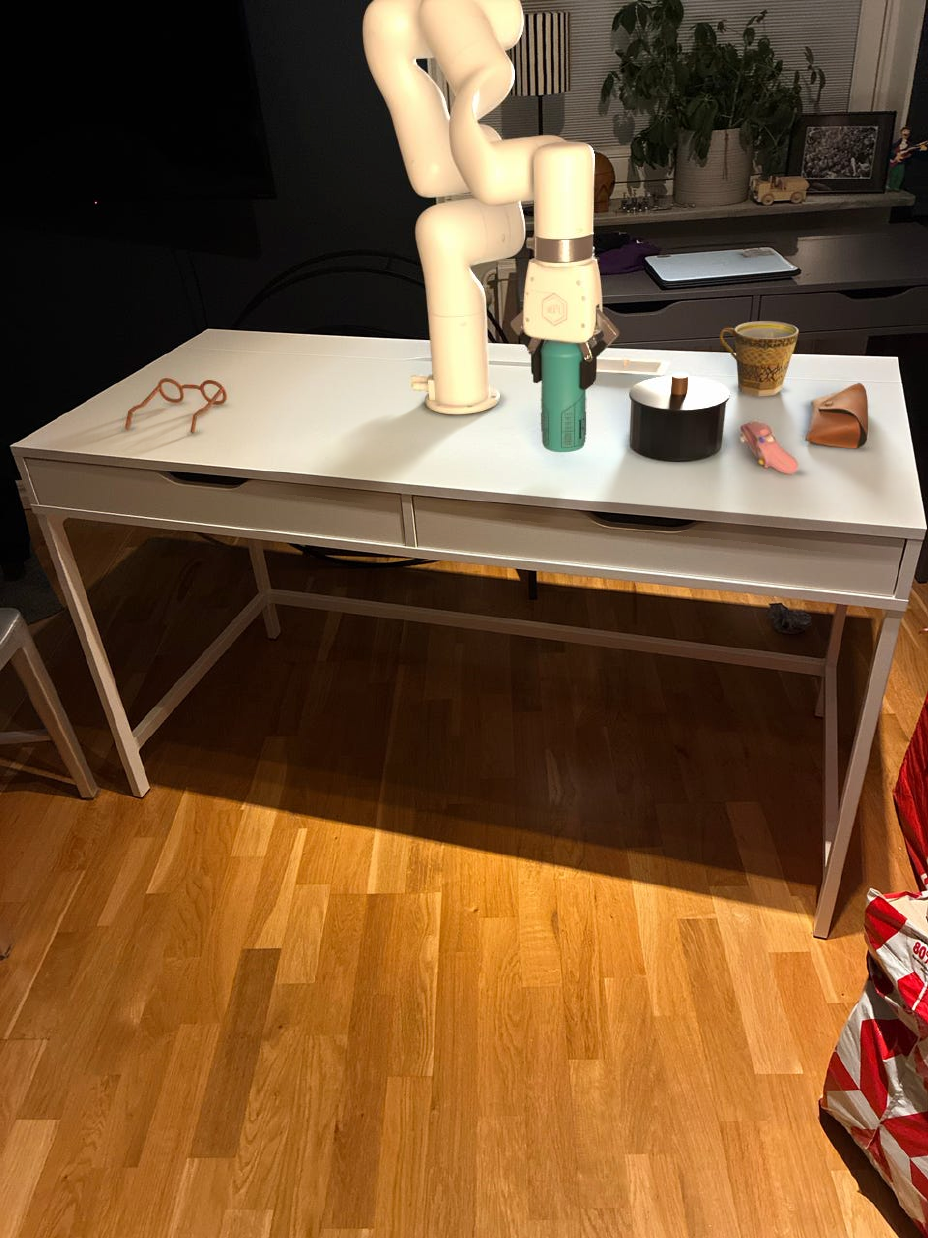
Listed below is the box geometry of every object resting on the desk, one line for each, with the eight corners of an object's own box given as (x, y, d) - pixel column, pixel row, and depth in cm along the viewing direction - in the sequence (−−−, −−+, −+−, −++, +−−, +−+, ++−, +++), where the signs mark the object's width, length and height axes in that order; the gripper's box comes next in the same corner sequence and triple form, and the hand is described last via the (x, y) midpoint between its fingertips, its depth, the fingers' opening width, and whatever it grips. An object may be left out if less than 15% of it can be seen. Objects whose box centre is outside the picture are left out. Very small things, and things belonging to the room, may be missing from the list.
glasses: (230, 406, 165) (224, 378, 162) (193, 434, 154) (186, 405, 152) (164, 403, 168) (158, 375, 166) (123, 430, 158) (116, 401, 155)
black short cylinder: (623, 459, 136) (625, 409, 132) (636, 425, 147) (638, 378, 143) (718, 465, 133) (723, 414, 129) (724, 429, 144) (728, 381, 140)
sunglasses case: (808, 398, 151) (836, 364, 147) (844, 422, 151) (873, 389, 147) (804, 442, 137) (835, 405, 132) (844, 468, 137) (877, 432, 133)
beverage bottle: (583, 463, 134) (586, 322, 123) (537, 461, 135) (536, 321, 124) (587, 445, 139) (591, 308, 128) (543, 444, 140) (542, 308, 129)
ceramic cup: (800, 386, 158) (809, 325, 152) (774, 403, 151) (782, 342, 146) (729, 373, 165) (735, 315, 159) (701, 389, 159) (706, 330, 153)
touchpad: (663, 381, 163) (664, 368, 162) (579, 376, 168) (579, 364, 167) (670, 366, 169) (671, 354, 168) (589, 362, 174) (589, 350, 173)
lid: (622, 414, 132) (623, 389, 131) (635, 381, 144) (636, 358, 142) (726, 419, 129) (728, 394, 127) (731, 385, 140) (733, 361, 138)
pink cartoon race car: (747, 459, 138) (730, 420, 134) (776, 443, 137) (759, 404, 133) (771, 487, 129) (754, 447, 126) (802, 471, 128) (785, 430, 125)
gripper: (491, 251, 123) (496, 383, 133) (613, 259, 115) (609, 400, 125) (518, 239, 128) (521, 367, 138) (637, 246, 120) (631, 382, 130)
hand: (563, 382), depth 131 cm, fingers closed on beverage bottle, 6 cm apart
